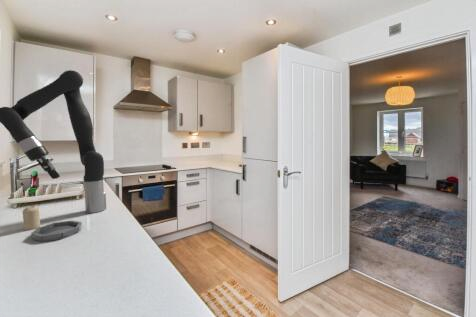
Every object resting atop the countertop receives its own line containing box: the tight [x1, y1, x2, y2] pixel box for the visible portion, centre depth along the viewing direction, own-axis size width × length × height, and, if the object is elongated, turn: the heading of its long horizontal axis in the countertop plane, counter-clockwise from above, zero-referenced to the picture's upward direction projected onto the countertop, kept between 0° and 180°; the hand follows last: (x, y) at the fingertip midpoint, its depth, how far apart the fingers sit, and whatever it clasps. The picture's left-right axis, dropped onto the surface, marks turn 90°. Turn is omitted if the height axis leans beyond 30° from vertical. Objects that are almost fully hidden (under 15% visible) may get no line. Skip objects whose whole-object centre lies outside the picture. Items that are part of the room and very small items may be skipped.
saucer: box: [30, 220, 83, 242], centre depth 100 cm, size 16×16×2 cm
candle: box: [22, 205, 41, 231], centre depth 106 cm, size 6×6×10 cm
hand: (56, 177), depth 111 cm, fingers open, 8 cm apart
